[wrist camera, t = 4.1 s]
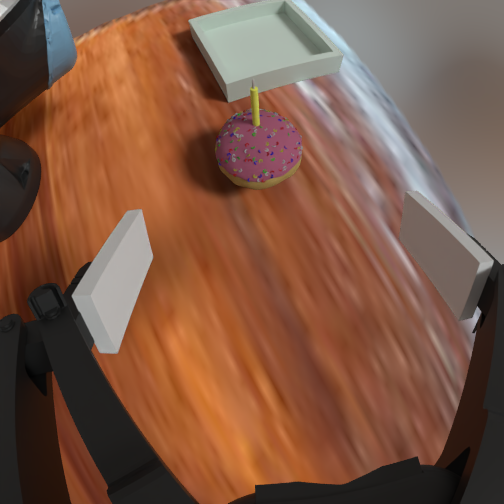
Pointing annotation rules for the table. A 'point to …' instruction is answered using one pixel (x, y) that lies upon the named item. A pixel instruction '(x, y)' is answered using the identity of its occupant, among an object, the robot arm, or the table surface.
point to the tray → (263, 47)
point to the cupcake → (258, 147)
